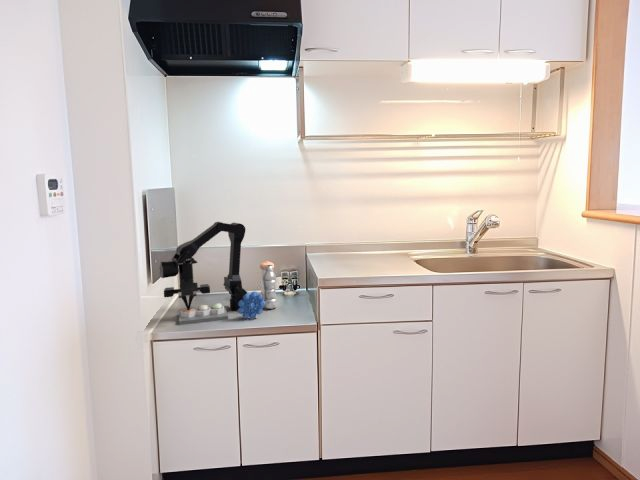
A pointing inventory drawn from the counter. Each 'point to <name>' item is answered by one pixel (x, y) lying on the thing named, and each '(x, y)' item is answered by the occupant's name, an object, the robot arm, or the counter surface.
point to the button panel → (202, 316)
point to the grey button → (202, 308)
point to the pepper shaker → (263, 273)
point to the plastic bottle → (269, 287)
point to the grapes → (251, 305)
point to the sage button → (217, 306)
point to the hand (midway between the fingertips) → (188, 309)
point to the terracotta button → (188, 310)
